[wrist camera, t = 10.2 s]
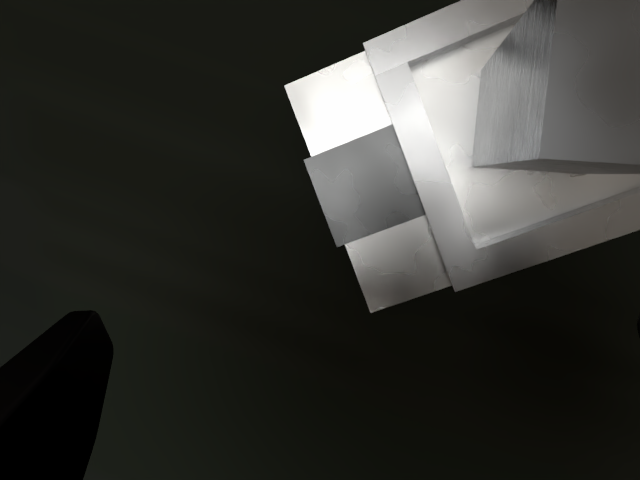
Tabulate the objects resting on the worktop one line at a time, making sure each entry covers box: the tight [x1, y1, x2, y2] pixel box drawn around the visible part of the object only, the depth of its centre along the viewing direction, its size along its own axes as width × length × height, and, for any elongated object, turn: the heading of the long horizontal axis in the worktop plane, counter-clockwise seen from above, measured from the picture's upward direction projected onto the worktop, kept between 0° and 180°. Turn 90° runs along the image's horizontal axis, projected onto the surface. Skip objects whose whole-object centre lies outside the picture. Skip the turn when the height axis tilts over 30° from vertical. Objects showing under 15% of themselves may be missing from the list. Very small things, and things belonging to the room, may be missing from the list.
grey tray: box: [285, 0, 640, 313], centre depth 20 cm, size 9×17×2 cm, turn 111°
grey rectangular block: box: [471, 0, 640, 174], centre depth 15 cm, size 4×4×10 cm
